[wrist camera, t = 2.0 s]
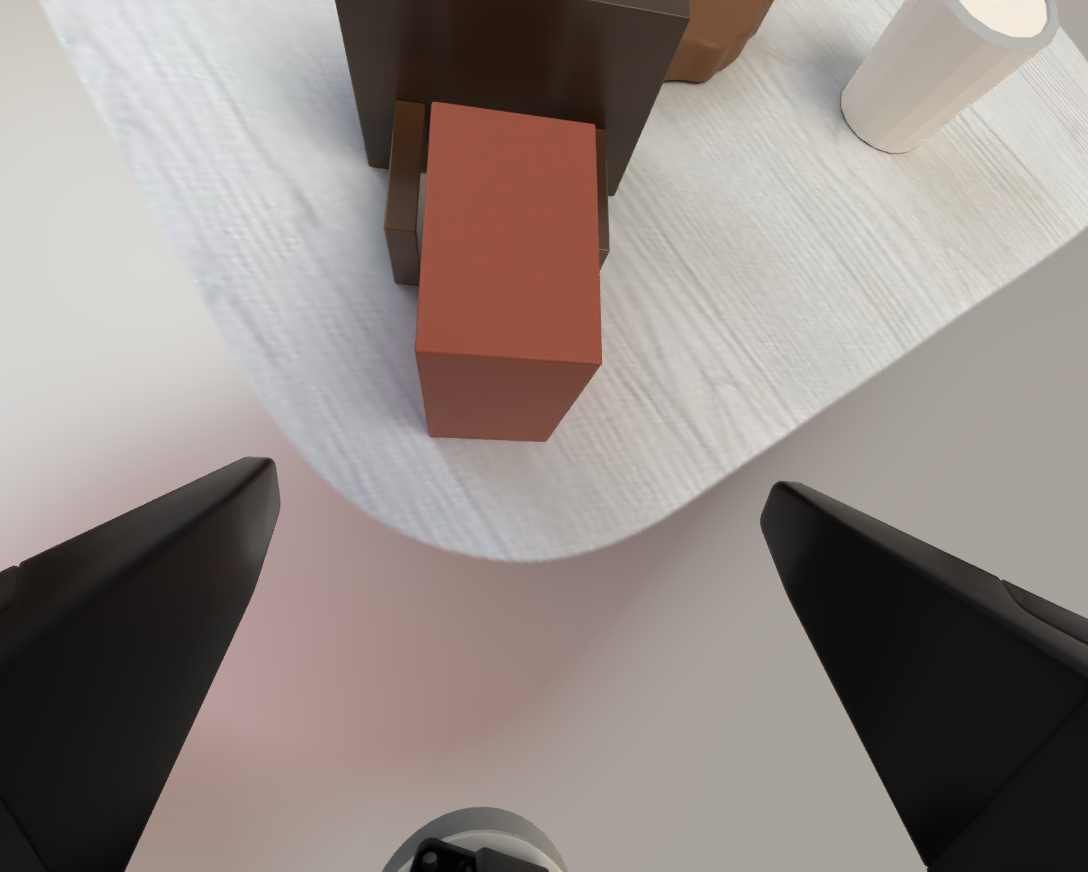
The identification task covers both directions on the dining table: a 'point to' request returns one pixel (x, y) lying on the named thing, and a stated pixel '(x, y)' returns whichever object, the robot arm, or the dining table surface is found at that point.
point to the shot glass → (940, 65)
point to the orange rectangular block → (507, 273)
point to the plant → (715, 36)
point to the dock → (501, 83)
